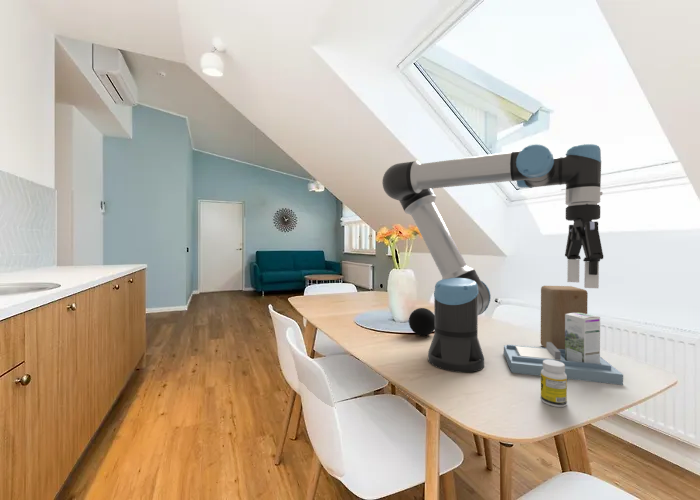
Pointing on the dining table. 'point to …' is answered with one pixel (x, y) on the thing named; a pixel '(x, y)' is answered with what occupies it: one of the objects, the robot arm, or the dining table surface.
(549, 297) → the wooden block
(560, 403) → the supplement bottle
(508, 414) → the dining table surface
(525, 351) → the cover
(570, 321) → the syrup box
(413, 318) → the decorative ball
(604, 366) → the compartment tray
